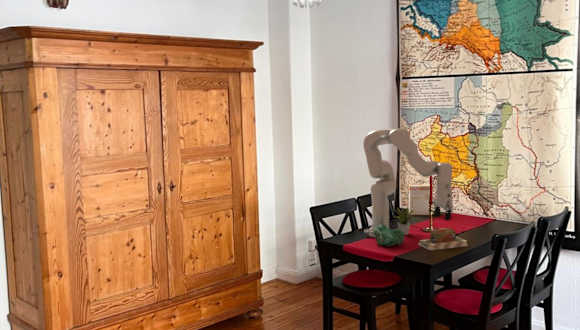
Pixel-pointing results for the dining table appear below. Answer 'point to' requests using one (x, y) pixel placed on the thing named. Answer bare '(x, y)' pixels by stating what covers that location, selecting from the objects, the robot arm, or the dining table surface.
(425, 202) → the coffeecake box
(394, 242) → the mineral
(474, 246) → the dining table surface
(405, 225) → the house plant
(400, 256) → the dining table surface
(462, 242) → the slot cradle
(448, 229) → the tin
